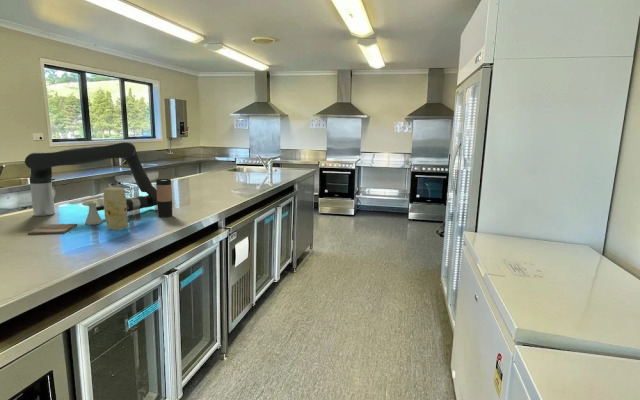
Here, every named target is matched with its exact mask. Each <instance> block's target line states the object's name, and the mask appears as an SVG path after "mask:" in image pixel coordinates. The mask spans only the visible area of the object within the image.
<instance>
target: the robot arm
mask: <svg viewBox="0 0 640 400" xmlns="http://www.w3.org/2000/svg"><path fill="white" fill-rule="evenodd" d="M112 159H124V160H125V162H126V163H127V165H128V166H129V168H130V171H131V174H132V176H133V179H134V181H135V183H136V185H137V187H138V189H139V190H140V192H142V193H146V194H147V195H145V196H142V195H139V196H131V197H126V203H127V213H128V212H133V211H136V210H141V209H147V208H151V207H155V206H157V189H156V188H155V187H154V185H153V184H152V182H151V180H150V178H149V175H148V174H147V173H146V171H145V169H144V167H143V165H142V163H141V161H140V159H139V156H138V152H137V148H136V145H134V143H132V142H131V141H121V142H117V143H111V144H107V145H106V144H105V145H87V146H78V147H72V148H68V149H64V150H58V151H53V152H43V151H36V152H31V153H29V154H28V155H27V156H25V158H24V164H25V166H26V167H27V168H29V169H30V177H29V186H30V196H31V203H32V212H33V216H37V217H41V216H42V217H43V216H51V215H54V214H56V210H55V203H54V201H55V200H54V192H53V183H52V181H53V180H52V178H53V170H52V168H53V167H60V166H62V167H63V166H79V165H87V164H92V163H97V162H102V161H105V160H112ZM96 209H97V212H99V211H104V203H103V204H100V205H97V206H96Z"/></svg>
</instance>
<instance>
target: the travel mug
mask: <svg viewBox="0 0 640 400" xmlns="http://www.w3.org/2000/svg"><path fill="white" fill-rule="evenodd" d="M155 184H156V188H155V189H156V190H157V205H156V206H157V215H158V217H159V218H170V217H173V191H172V190H173V189H172V180H171V178H160V179H159V178H158V179H156V180H155Z"/></svg>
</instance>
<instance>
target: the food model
mask: <svg viewBox="0 0 640 400" xmlns="http://www.w3.org/2000/svg"><path fill="white" fill-rule="evenodd" d="M126 198H127V197H126V190H125V188H123V187H118V186H109V187H106V188H103V204H104V210H103V212H104V217H105V224H106V226H107V228H108V230H109V229H110V230H112V231H115V232H116V231H121V230H124V229H127V228H128V227H129V226H128V225H129V224H128V212H127V203H126Z"/></svg>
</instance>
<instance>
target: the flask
mask: <svg viewBox="0 0 640 400" xmlns="http://www.w3.org/2000/svg"><path fill="white" fill-rule="evenodd" d="M87 205H88V213H87V216H86V218H85V219H86V220H85V222H84V224H85V225H88V226H90V225H92V226H94V225H99V224H101V223H103V222H104V221H103V220H102V218H101V216H100V214H99V211H97V209H96V207H97V206H96V205H97V203H96V202H95V203H94V202H91V203H87Z"/></svg>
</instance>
